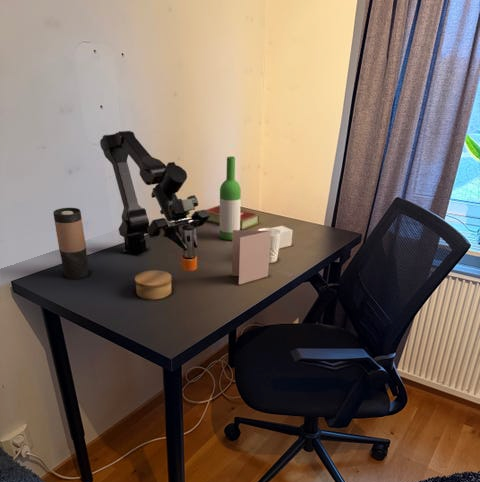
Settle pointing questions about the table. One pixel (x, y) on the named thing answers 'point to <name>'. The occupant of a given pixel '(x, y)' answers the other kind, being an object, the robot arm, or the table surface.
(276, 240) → the white cup
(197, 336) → the table surface
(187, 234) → the torch
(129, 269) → the table surface
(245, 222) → the hardcover book
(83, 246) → the travel mug
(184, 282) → the table surface
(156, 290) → the birch box
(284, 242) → the cream cube
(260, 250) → the greeting card
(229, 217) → the wine bottle
